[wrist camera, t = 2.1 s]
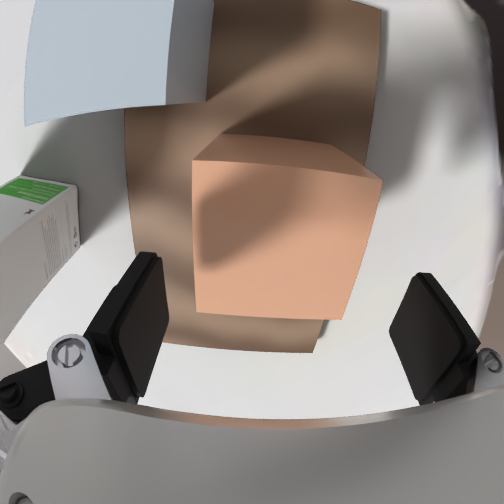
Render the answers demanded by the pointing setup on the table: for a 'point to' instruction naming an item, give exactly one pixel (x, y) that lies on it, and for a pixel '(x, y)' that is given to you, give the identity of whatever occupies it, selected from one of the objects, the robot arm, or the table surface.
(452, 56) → the table surface
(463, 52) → the table surface
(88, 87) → the pale blue cube
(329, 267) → the peach cube block
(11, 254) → the skincare box
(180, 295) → the walnut board
